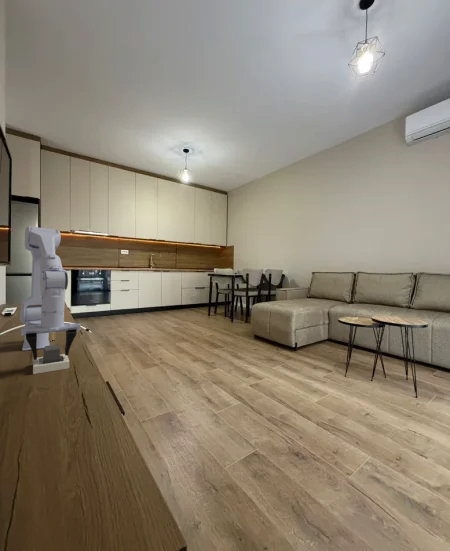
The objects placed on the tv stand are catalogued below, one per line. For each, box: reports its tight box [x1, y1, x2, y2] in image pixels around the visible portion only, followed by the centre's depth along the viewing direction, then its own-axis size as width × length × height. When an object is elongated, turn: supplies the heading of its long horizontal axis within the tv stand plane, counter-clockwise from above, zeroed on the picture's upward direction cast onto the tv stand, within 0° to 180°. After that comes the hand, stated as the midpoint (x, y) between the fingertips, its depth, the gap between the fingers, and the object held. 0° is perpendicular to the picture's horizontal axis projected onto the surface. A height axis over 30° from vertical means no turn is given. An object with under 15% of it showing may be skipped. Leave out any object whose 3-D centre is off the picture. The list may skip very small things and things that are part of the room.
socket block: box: [32, 353, 70, 375], centre depth 75 cm, size 8×8×2 cm
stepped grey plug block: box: [42, 344, 61, 364], centre depth 75 cm, size 4×4×6 cm
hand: (51, 356), depth 75 cm, fingers open, 7 cm apart
